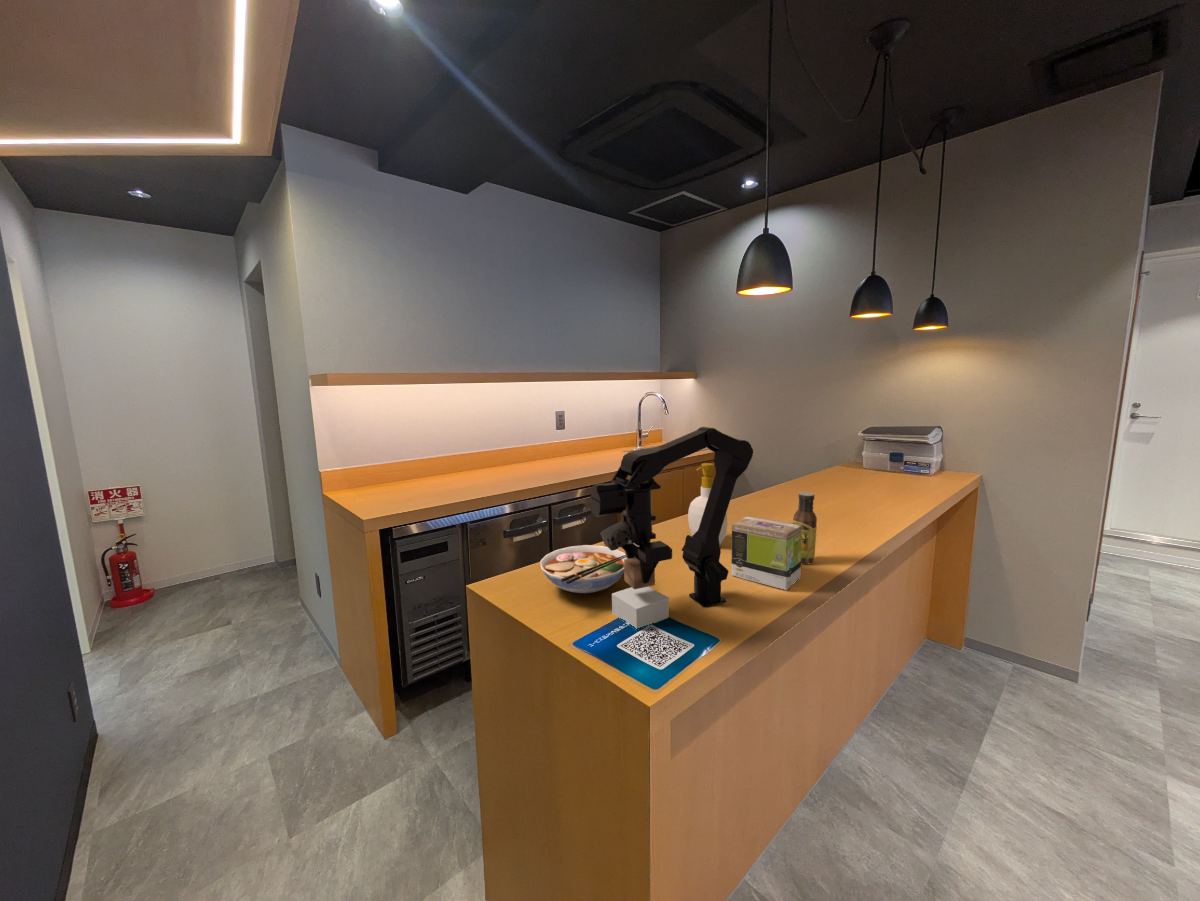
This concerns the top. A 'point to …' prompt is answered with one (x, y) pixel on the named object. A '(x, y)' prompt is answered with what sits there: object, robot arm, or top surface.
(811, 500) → the sauce bottle
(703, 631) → the top surface
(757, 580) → the tea box
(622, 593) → the light grey block
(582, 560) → the ramen bowl
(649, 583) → the walnut cube
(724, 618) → the top surface
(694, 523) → the soap bottle
